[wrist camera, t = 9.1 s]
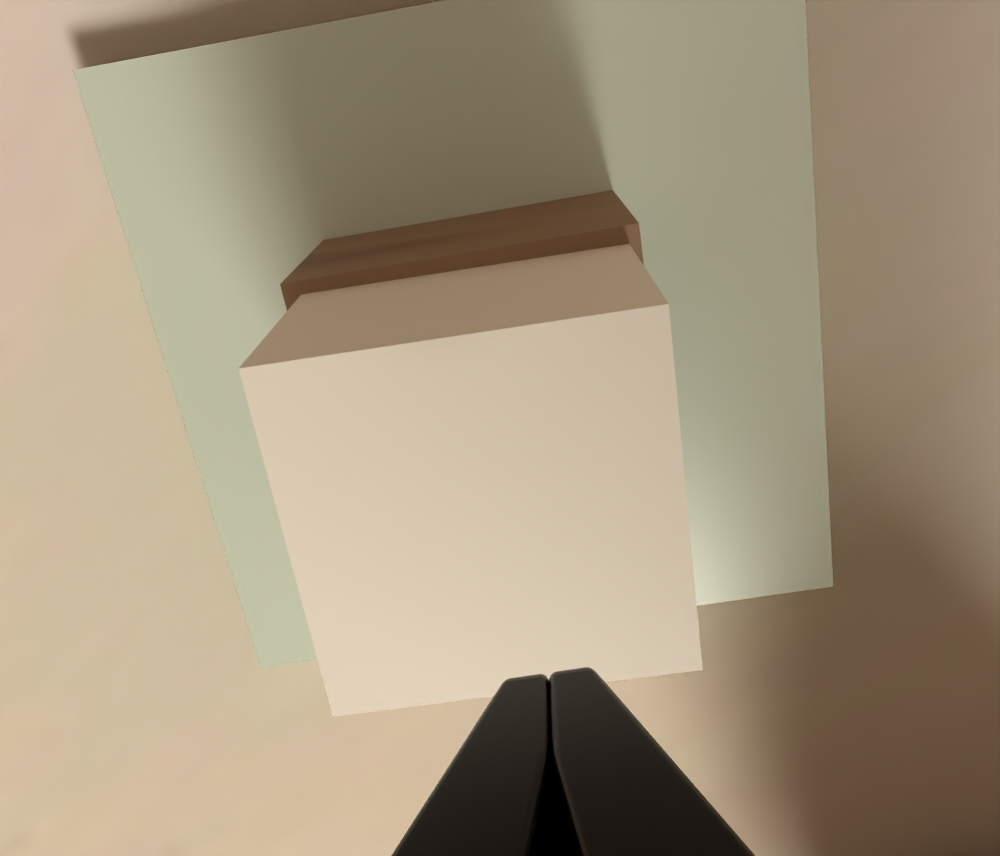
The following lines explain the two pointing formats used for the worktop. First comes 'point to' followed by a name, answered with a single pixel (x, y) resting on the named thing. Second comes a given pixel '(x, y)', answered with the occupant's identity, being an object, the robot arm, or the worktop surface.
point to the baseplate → (488, 187)
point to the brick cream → (481, 478)
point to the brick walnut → (466, 243)
